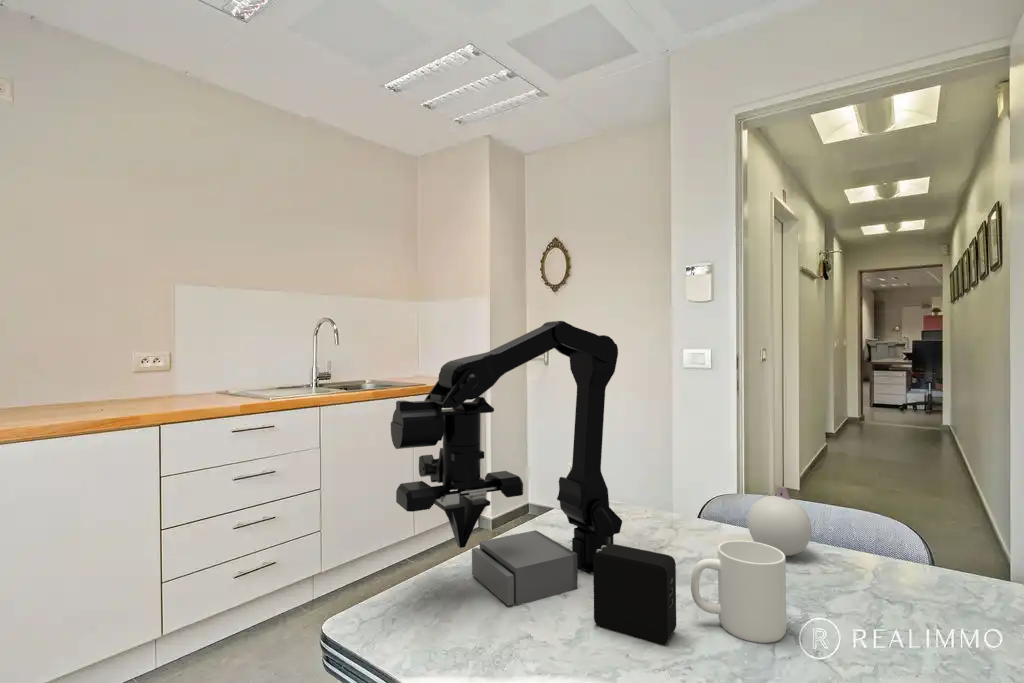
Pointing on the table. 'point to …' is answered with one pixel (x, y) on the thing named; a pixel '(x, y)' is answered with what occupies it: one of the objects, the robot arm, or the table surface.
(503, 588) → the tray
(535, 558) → the grey drawer box
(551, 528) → the table surface
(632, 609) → the electronic device
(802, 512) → the ornament
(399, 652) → the table surface
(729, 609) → the cup
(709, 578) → the table surface
